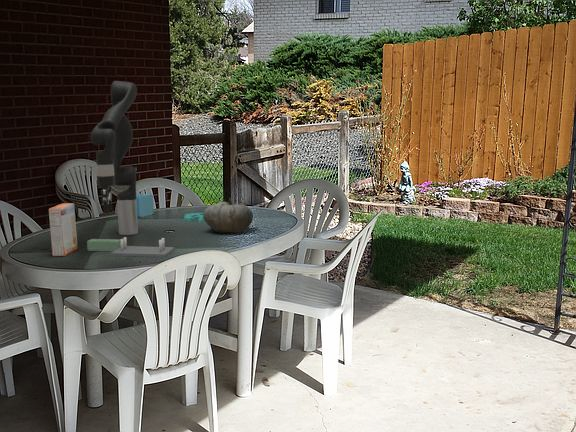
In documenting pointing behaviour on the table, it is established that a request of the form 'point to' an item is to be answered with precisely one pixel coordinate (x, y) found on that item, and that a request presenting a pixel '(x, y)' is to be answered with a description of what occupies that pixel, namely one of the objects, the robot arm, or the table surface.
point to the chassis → (142, 250)
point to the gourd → (228, 217)
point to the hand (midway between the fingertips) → (107, 211)
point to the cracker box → (63, 229)
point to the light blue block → (144, 205)
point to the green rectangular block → (103, 244)
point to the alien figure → (194, 217)
